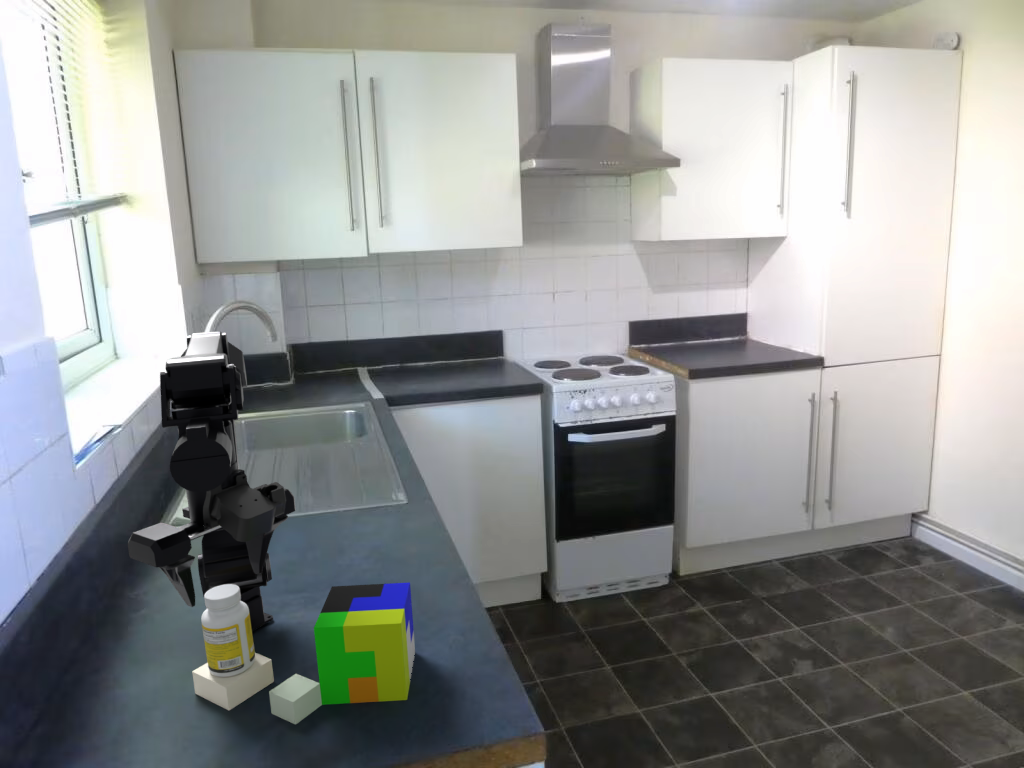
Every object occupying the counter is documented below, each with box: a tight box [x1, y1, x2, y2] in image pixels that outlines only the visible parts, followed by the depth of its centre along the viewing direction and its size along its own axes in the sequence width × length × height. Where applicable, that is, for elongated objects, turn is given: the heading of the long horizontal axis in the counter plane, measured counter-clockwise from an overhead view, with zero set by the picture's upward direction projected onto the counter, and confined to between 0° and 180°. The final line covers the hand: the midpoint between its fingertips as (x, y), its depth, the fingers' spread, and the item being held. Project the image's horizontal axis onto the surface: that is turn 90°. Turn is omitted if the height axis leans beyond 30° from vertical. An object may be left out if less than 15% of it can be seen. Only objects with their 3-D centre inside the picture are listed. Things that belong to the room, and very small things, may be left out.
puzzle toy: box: [313, 581, 416, 706], centre depth 90 cm, size 10×10×10 cm
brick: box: [268, 673, 323, 725], centre depth 85 cm, size 4×4×3 cm
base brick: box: [191, 652, 275, 711], centre depth 89 cm, size 6×6×3 cm
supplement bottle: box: [200, 584, 256, 677], centre depth 88 cm, size 5×5×10 cm
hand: (226, 589), depth 87 cm, fingers open, 9 cm apart
